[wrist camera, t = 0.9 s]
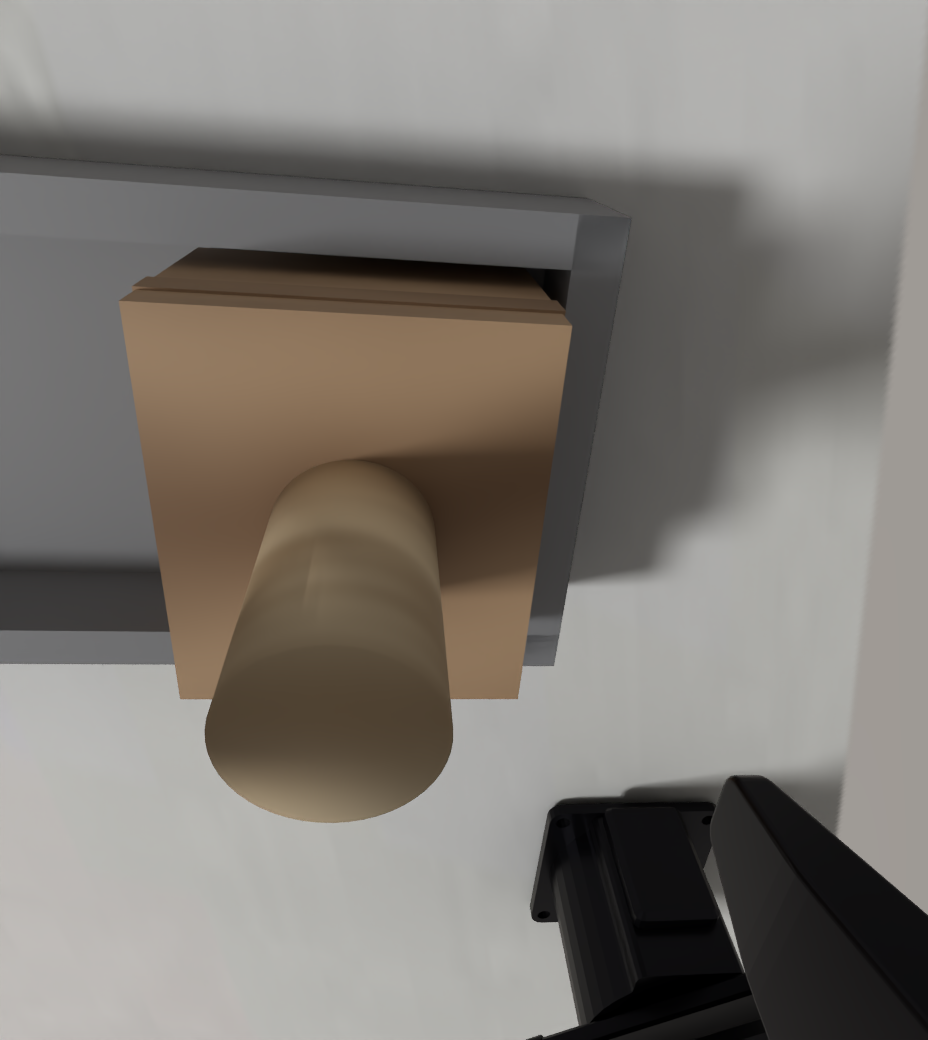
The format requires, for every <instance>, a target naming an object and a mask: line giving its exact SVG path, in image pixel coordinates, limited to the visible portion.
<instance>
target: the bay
mask: <svg viewBox="0 0 928 1040" xmlns="http://www.w3.org/2000/svg"><path fill="white" fill-rule="evenodd" d="M631 219H632V218H631V217H628V216H626V215H624V214H622V213H620V212H617V211H615V210H613V209H611V208H608V207H606V206H604V205H602V204H599V203H597V202H595V201H593V200H591V199H587V198H574V197H561V196H547V195H534V194H520V193H507V192H493V191H480V190H467V189H453V188H440V187H426V186H413V185H400V184H386V183H373V182H359V181H346V180H332V179H319V178H306V177H292V176H279V175H265V174H252V173H238V172H225V171H212V170H198V169H185V168H171V167H158V166H145V165H131V164H118V163H104V162H91V161H77V160H64V159H51V158H37V157H24V156H10V155H0V664H175V662H174V655H173V649H172V642H171V636H170V629H169V623H168V616H167V610H166V603H165V597H164V590H163V584H162V578H161V571H160V565H159V558H158V552H157V545H156V539H155V532H154V526H153V519H152V513H151V506H150V500H149V493H148V487H147V481H146V474H145V468H144V461H143V455H142V448H141V442H140V435H139V429H138V422H137V416H136V409H135V403H134V397H133V390H132V384H131V377H130V371H129V364H128V358H127V351H126V345H125V338H124V332H123V325H122V319H121V312H120V306H119V300H121V299H122V298H124V297H125V296H127V295H128V294H130V293H131V292H132V286H133V285H134V284H136V283H137V282H139V281H140V280H142V279H143V278H145V277H146V276H150V277H155V276H156V275H158V274H159V273H161V272H162V271H164V270H165V269H167V268H168V267H170V266H171V265H173V264H174V263H176V262H177V261H178V260H180V259H181V258H183V257H184V256H186V255H187V254H189V253H190V252H192V251H193V250H195V249H196V248H198V247H202V248H217V249H233V250H249V251H265V252H280V253H296V254H312V255H328V256H343V257H359V258H375V259H391V260H406V261H422V262H438V263H454V264H469V265H485V266H501V267H517V268H525V269H526V270H527V271H528V272H529V274H530V275H531V276H532V277H533V279H534V280H535V281H536V282H537V283H538V285H539V286H540V287H541V288H542V290H543V291H544V292H545V293H546V294H547V296H548V297H549V298H550V299H551V300H557V301H558V302H559V304H560V305H561V306H562V307H563V308H564V310H565V311H566V313H565V318H566V319H567V320H568V321H569V322H570V324H571V325H572V332H571V338H570V345H569V352H568V359H567V366H566V373H565V379H564V386H563V393H562V400H561V407H560V414H559V420H558V427H557V434H556V441H555V448H554V455H553V461H552V468H551V475H550V482H549V489H548V496H547V502H546V509H545V516H544V523H543V530H542V536H541V543H540V550H539V557H538V564H537V571H536V577H535V584H534V591H533V598H532V605H531V612H530V618H529V625H528V632H527V639H526V646H525V653H524V659H523V666H554V662H555V656H556V651H557V645H558V639H559V633H560V628H561V622H562V616H563V610H564V605H565V599H566V593H567V587H568V581H569V576H570V570H571V564H572V558H573V553H574V547H575V541H576V535H577V530H578V524H579V518H580V512H581V507H582V501H583V495H584V489H585V484H586V478H587V472H588V466H589V460H590V455H591V449H592V443H593V437H594V432H595V426H596V420H597V414H598V409H599V403H600V397H601V391H602V386H603V380H604V374H605V368H606V363H607V357H608V351H609V345H610V339H611V334H612V328H613V322H614V316H615V311H616V305H617V299H618V293H619V288H620V282H621V276H622V270H623V265H624V259H625V253H626V247H627V242H628V236H629V230H630V224H631Z"/></svg>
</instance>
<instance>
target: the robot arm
mask: <svg viewBox="0 0 928 1040" xmlns="http://www.w3.org/2000/svg"><path fill="white" fill-rule="evenodd" d="M711 846H712V847H713V851H714V855H715V859H716V863H717V867H718V871H719V875H720V878H721V882H722V886H723V890H724V894H725V898H726V902H727V906H728V909H729V913H730V917H731V921H732V925H733V929H734V933H735V936H736V940H737V944H738V948H739V952H740V956H741V959H742V963H743V966H744V969H743V967H742V964H741V962H740V959H739V957H738V954H737V952H736V949H735V947H734V944H733V942H732V939H731V937H730V935H729V932H728V930H727V927H726V925H725V922H724V920H723V917H722V915H721V912H720V910H719V907H718V905H717V902H716V900H715V897H714V895H713V892H712V890H711V887H710V885H709V883H708V880H707V878H706V875H705V873H704V870H703V868H704V865H705V863H706V860H707V857H708V854H709V852H710V849H711ZM530 910H531V916H532V919H533V920H534V921H536V922H558V923H559V928H560V933H561V938H562V943H563V948H564V953H565V958H566V963H567V968H568V973H569V978H570V983H571V988H572V993H573V998H574V1003H575V1008H576V1014H577V1019H578V1024H579V1026H578V1027H574V1028H571V1029H568V1030H565V1031H562V1032H559V1033H556V1034H553V1035H549V1036H546V1037H543V1036H542V1035H538V1036H535V1037H532V1038H529V1039H526V1040H928V915H927V914H926V913H925V912H923V911H922V910H921V909H920V908H919V907H918V906H917V905H915V904H914V903H913V902H912V901H911V900H909V899H908V898H907V897H906V896H905V895H904V894H903V893H901V892H900V891H899V890H898V889H897V888H896V887H894V886H893V885H892V884H891V883H890V882H888V881H887V880H886V879H885V878H884V877H882V876H881V875H880V874H879V873H878V872H877V871H876V870H874V869H873V868H872V867H871V866H870V865H869V864H867V863H866V862H865V861H864V860H863V859H862V858H860V857H859V856H858V855H857V854H856V853H855V852H853V851H852V850H851V849H850V848H849V847H848V846H846V845H845V844H844V843H843V842H842V841H841V840H839V839H838V838H837V837H836V836H835V835H834V834H832V833H831V832H830V831H829V830H828V829H827V828H825V827H824V826H823V825H822V824H821V823H819V822H818V821H817V820H816V819H815V818H814V817H812V816H811V815H810V814H809V813H808V812H807V811H805V810H804V809H803V808H802V807H801V806H800V805H798V804H797V803H796V802H795V801H794V800H793V799H791V798H790V797H789V796H788V795H787V794H786V793H784V792H783V791H782V790H781V789H780V788H779V787H777V786H776V785H775V784H774V783H773V782H771V781H770V780H769V779H767V778H765V777H763V776H759V775H734V776H731V777H729V778H728V779H727V780H726V782H725V784H724V786H723V789H722V792H721V794H720V797H719V800H718V803H717V806H716V805H715V804H714V803H710V802H684V803H623V804H563V805H557V806H555V807H553V808H552V809H550V810H549V812H548V815H547V820H546V825H545V830H544V836H543V841H542V846H541V851H540V856H539V861H538V867H537V872H536V877H535V882H534V887H533V893H532V898H531V903H530ZM744 970H745V972H744Z"/></svg>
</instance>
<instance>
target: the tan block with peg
mask: <svg viewBox="0 0 928 1040" xmlns="http://www.w3.org/2000/svg"><path fill="white" fill-rule="evenodd" d="M119 306H120V312H121V319H122V325H123V332H124V338H125V345H126V351H127V358H128V364H129V371H130V377H131V384H132V390H133V397H134V403H135V409H136V416H137V422H138V429H139V435H140V442H141V448H142V455H143V461H144V468H145V474H146V481H147V487H148V493H149V500H150V506H151V513H152V519H153V526H154V532H155V539H156V545H157V552H158V558H159V565H160V571H161V578H162V584H163V590H164V597H165V603H166V610H167V616H168V623H169V629H170V636H171V642H172V649H173V655H174V662H175V668H176V674H177V681H178V687H179V694H180V699H212V702H211V705H210V708H209V712H208V715H207V718H206V725H205V743H206V747H207V752H208V755H209V757H210V760H211V762H212V764H213V766H214V768H215V769H216V771H217V772H218V774H219V775H220V777H221V778H222V779H223V780H224V781H225V782H226V784H227V785H228V786H229V787H231V788H232V789H233V790H234V791H235V792H236V793H237V794H239V795H240V796H242V797H243V798H245V799H246V800H247V801H249V802H251V803H253V804H254V805H256V806H258V807H260V808H262V809H265V810H267V811H269V812H272V813H274V814H278V815H281V816H284V817H288V818H292V819H297V820H302V821H310V822H322V823H338V822H350V821H357V820H363V819H367V818H371V817H376V816H379V815H382V814H385V813H387V812H390V811H392V810H395V809H397V808H399V807H401V806H403V805H405V804H407V803H408V802H410V801H412V800H413V799H415V798H416V797H417V796H419V795H420V794H421V793H423V792H424V791H425V790H426V789H427V788H428V787H429V786H430V785H431V784H432V783H433V782H434V781H435V780H436V779H437V777H438V776H439V775H440V773H441V772H442V770H443V768H444V767H445V765H446V763H447V761H448V758H449V755H450V753H451V748H452V743H453V723H452V712H451V701H450V699H518V694H519V687H520V680H521V673H522V666H523V659H524V653H525V646H526V639H527V632H528V625H529V618H530V612H531V605H532V598H533V591H534V584H535V577H536V571H537V564H538V557H539V550H540V543H541V536H542V530H543V523H544V516H545V509H546V502H547V496H548V489H549V482H550V475H551V468H552V461H553V455H554V448H555V441H556V434H557V427H558V420H559V414H560V407H561V400H562V393H563V386H564V379H565V373H566V366H567V359H568V352H569V345H570V338H571V332H572V325H571V324H570V322H569V321H568V320H567V319H566V318H565V313H566V311H565V310H564V308H563V307H562V306H561V305H560V304H559V302H558V301H557V300H551V299H550V298H549V297H548V296H547V294H546V293H545V292H544V291H543V290H542V288H541V287H540V286H539V285H538V283H537V282H536V281H535V280H534V279H533V277H532V276H531V275H530V274H529V272H528V271H527V270H526V269H525V268H517V267H501V266H485V265H469V264H454V263H438V262H422V261H406V260H391V259H375V258H359V257H343V256H328V255H312V254H296V253H280V252H265V251H249V250H233V249H217V248H202V247H198V248H196V249H195V250H193V251H192V252H190V253H189V254H187V255H186V256H184V257H183V258H181V259H180V260H178V261H177V262H176V263H174V264H173V265H171V266H170V267H168V268H167V269H165V270H164V271H162V272H161V273H159V274H158V275H156V276H155V277H150V276H146V277H145V278H143V279H142V280H140V281H139V282H137V283H136V284H134V285H133V286H132V292H131V293H130V294H128V295H127V296H125V297H124V298H122V299H121V300H119Z"/></svg>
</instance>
